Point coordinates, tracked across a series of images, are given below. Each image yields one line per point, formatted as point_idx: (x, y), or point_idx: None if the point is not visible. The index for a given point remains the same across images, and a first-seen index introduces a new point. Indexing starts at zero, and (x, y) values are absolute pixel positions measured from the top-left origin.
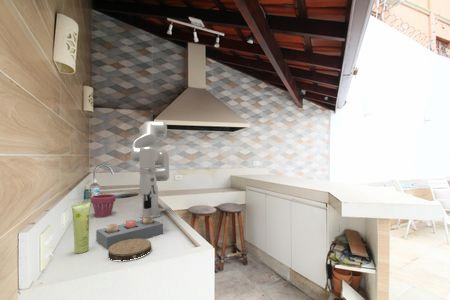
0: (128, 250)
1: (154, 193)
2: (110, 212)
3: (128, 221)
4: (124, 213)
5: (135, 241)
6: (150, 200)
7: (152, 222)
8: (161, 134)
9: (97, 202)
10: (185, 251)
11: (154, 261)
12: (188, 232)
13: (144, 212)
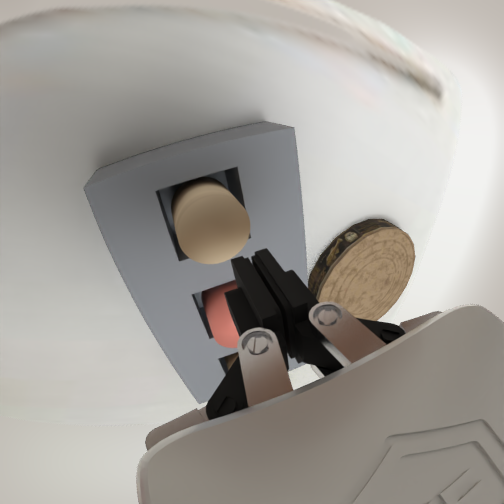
0: (391, 289)
1: (425, 330)
2: None
3: (233, 338)
4: None
5: (353, 274)
6: (305, 308)
7: (191, 177)
8: None
9: None
10: (443, 141)
11: (430, 227)
12: (325, 13)
13: None
